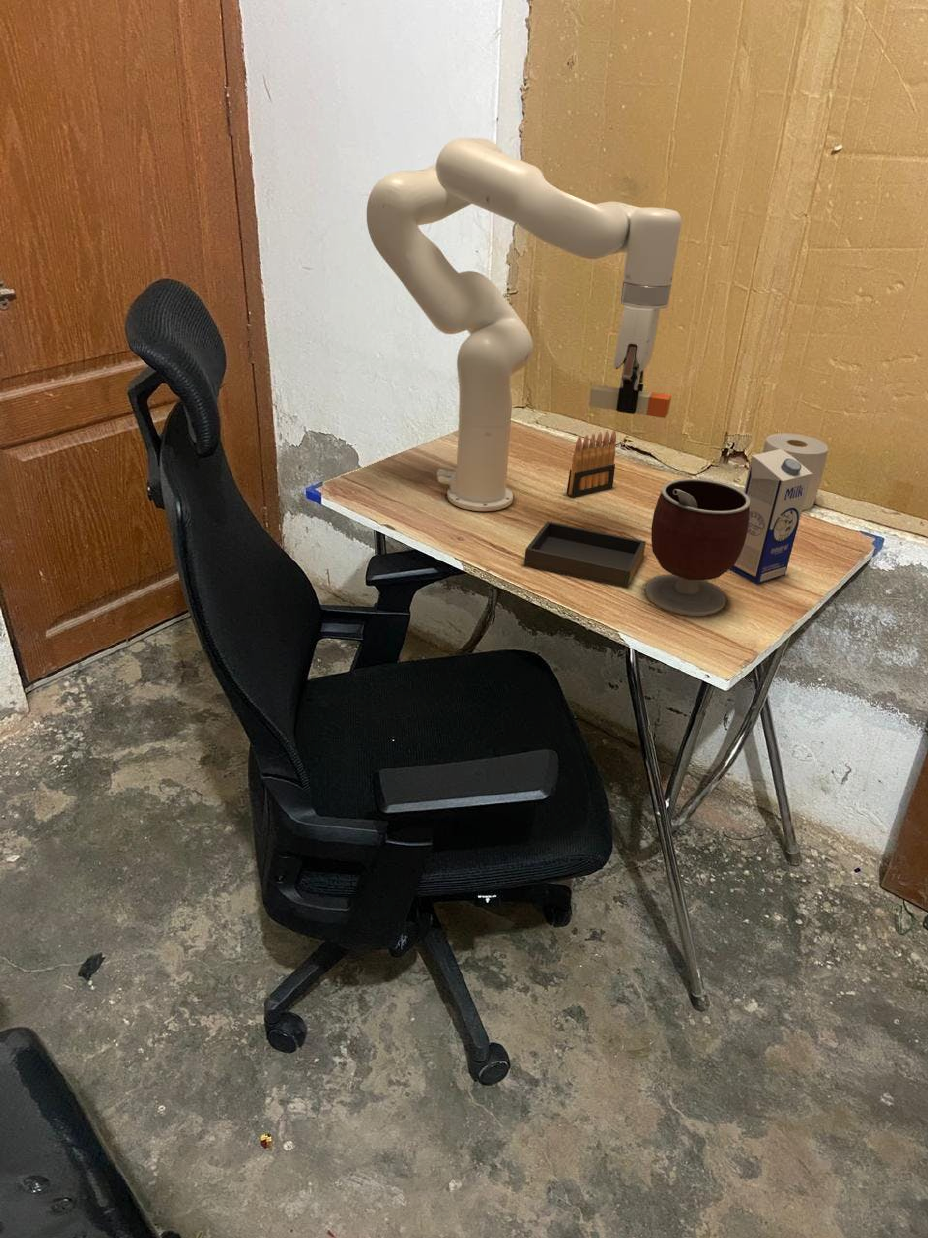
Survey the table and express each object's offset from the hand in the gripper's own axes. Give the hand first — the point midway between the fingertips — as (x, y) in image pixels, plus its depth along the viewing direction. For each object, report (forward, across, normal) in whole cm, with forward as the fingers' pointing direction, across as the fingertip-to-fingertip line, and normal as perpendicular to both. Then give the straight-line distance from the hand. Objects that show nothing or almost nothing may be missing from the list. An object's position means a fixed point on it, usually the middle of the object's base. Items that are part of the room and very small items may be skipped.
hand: (628, 408), depth 146 cm
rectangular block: (0, 0, 0) cm, 0 cm away
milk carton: (+22, +6, +26) cm, 35 cm away
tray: (+22, +15, -1) cm, 27 cm away
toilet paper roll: (+22, -30, +29) cm, 47 cm away
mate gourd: (+22, +21, +16) cm, 34 cm away
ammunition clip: (+22, -16, -7) cm, 28 cm away
